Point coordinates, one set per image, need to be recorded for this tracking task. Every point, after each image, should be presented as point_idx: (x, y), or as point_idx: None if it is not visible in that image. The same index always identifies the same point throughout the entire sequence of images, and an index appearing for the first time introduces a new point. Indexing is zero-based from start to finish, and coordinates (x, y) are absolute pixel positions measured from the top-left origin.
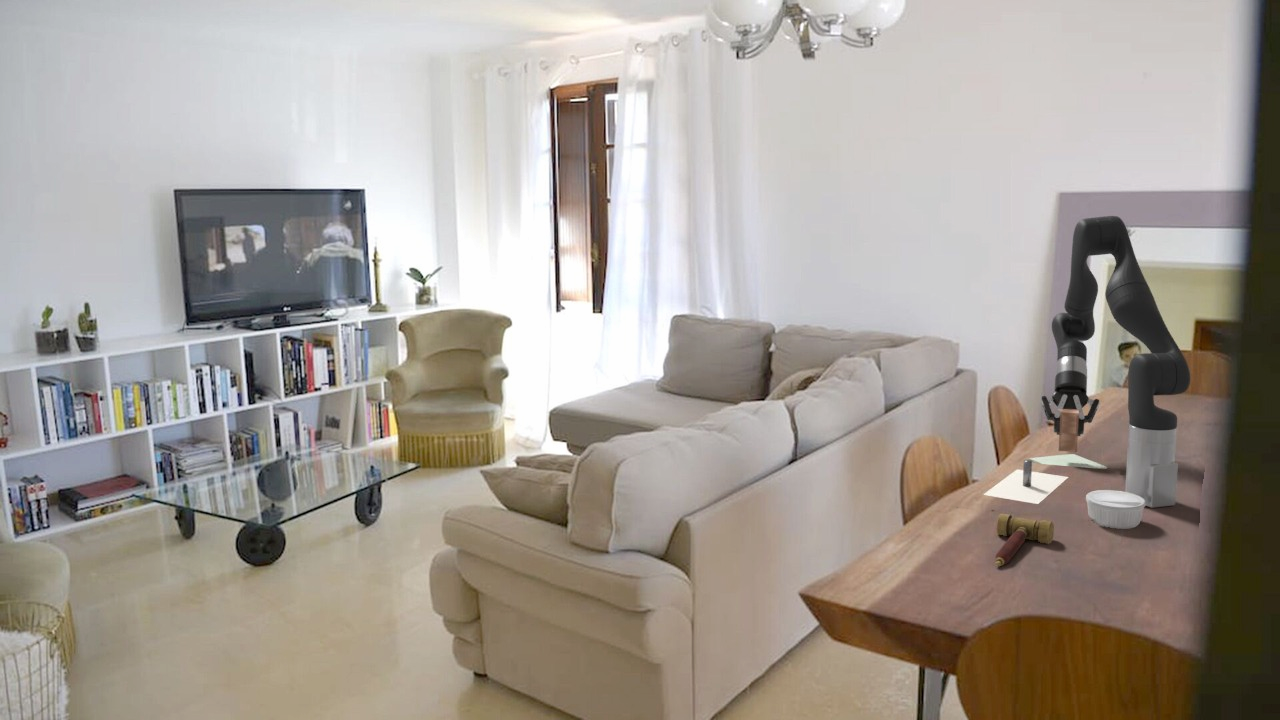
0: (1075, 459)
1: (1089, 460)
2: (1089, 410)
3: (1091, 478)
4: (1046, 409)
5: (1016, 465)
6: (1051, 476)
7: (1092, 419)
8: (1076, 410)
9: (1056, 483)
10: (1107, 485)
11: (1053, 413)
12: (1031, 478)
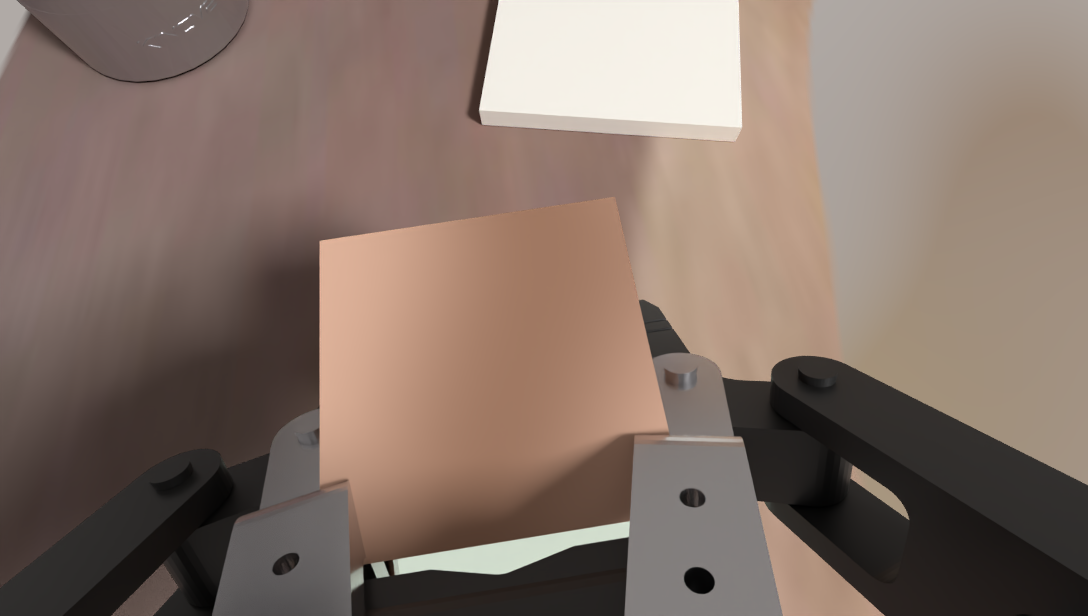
0: (494, 554)
1: (402, 573)
2: (104, 570)
3: (381, 214)
4: (923, 415)
5: (791, 280)
6: (556, 86)
7: (178, 589)
8: (363, 455)
9: (516, 4)
10: (309, 139)
11: (762, 429)
12: (632, 25)
